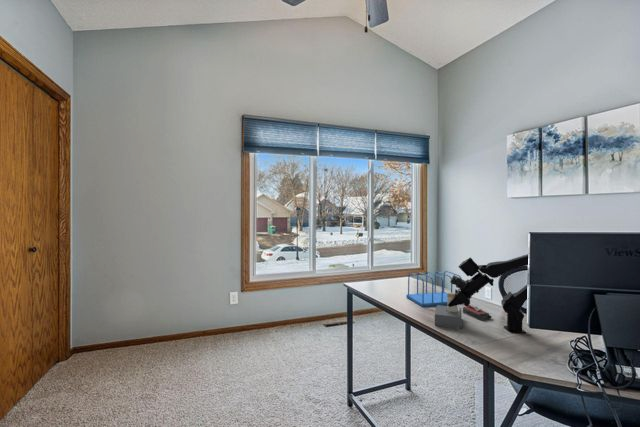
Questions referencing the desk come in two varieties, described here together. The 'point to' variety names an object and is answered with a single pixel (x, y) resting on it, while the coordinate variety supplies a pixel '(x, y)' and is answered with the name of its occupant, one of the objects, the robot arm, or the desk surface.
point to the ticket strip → (449, 299)
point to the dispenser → (447, 317)
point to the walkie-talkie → (476, 312)
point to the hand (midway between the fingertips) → (448, 305)
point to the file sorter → (430, 298)
